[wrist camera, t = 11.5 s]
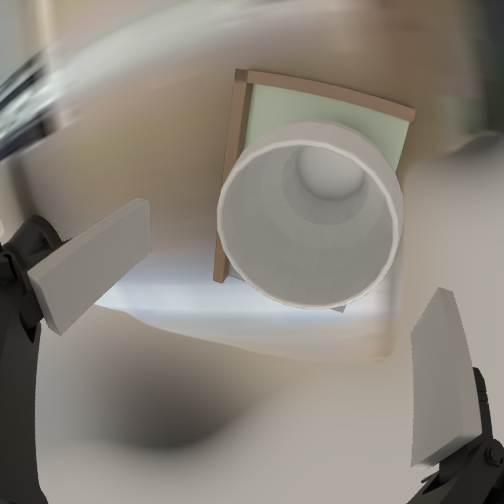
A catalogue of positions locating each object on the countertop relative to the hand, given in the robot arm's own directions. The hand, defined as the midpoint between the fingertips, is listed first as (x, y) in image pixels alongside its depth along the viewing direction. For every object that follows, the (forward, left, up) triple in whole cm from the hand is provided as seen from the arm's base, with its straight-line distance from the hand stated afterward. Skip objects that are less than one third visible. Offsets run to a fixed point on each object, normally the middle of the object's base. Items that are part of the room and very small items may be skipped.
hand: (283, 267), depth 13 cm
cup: (0, 0, -18) cm, 18 cm away
